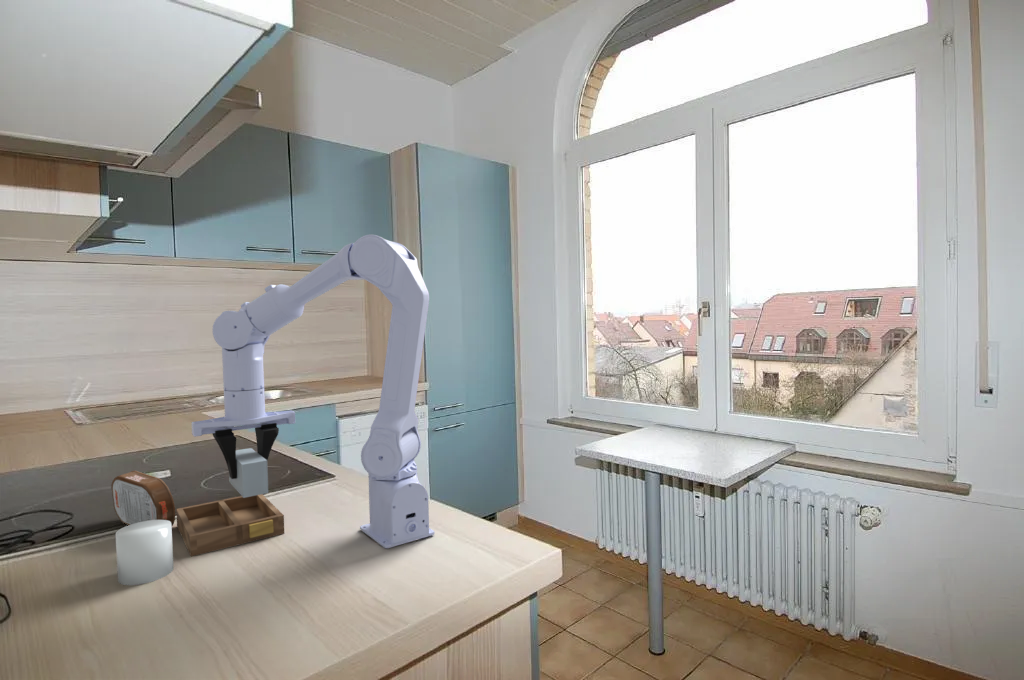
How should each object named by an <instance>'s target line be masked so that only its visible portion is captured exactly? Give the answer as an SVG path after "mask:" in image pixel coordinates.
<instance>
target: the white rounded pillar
mask: <svg viewBox="0 0 1024 680" xmlns="http://www.w3.org/2000/svg"><path fill="white" fill-rule="evenodd" d="M172 527H173V526H172V525H171V522H170V521H168V520H149V521H143V522H138V523H134V524H131V525H128V526H127V525H125V526H124V527H123V526H122V527H121V528H120V529H118V530H117V531H116V532H115V549H116V550H115V551H116V567H117V569H116V571H117V582H118V583H119V584H120V585H123V586H139V585H144V584H149V583H152V582H156V581H158V580H161V579H163V578H165V577H167V576H168V575H170V574H171V573H172V572H173V571H174V567H175V566H174V551H173V548H174V547H173V531H172V529H173V528H172Z"/></svg>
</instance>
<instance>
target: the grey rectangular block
mask: <svg viewBox="0 0 1024 680" xmlns="http://www.w3.org/2000/svg"><path fill="white" fill-rule="evenodd" d="M236 465H237V478H236V479H231V477H230V476H229V475H228V480H229V481H228V482H229V483H230V485H231V486H232V487H233V488H234V489H235V490H236V491H237V493H239V494H240V495H239V496H242V497H243V498H245V497H250V496H255V495H260V494H263V495H265V494H268V493H269V470H268V461H267V460H266V459H265V458H263V457H262V456H261V455H260V454H258V453H257V451H255V450H254V449H253V448H252V447H249V448H243V449H236Z"/></svg>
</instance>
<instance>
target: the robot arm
mask: <svg viewBox="0 0 1024 680" xmlns="http://www.w3.org/2000/svg"><path fill="white" fill-rule="evenodd" d="M351 280H352V281H357V280H358V281H359V280H363V281H367V282H368V283H370V284H372V285H373V286H375V287H376V288H377V289H378V290H379V291H380V292H381V293H382V295H384V297H385V298H387V300H388V301H389V302H390V303H391V305H392V307H391V316H390V322H389V330H388V339H387V345H386V354H385V360H384V369H383V375H382V376H383V377H382V385H381V391H380V400H379V406H378V407H379V409H378V411H377V414H376V416H375V418H374V420H373V422H372V423H371V426H370V431H369V436H368V439H367V440H366V442H365V443H364V444H363V446H362V448H361V451H360V461H361V464H362V466H363V469H364V470H365V472H367V474H368V502H369V503H368V504H369V506H368V509H369V523H365V524H362V525H360V526H359V530H360V531H362V532H363V533H365V534H366V535H367V536H368V537H370V538H371V539H372V540H373V541H375V542H376V543H377V544H378V545H380V546H381V547H382V548H384V549H389V548H393V547H396V546H400V545H403V544H407V543H410V542H414V541H416V540H421V539H425V538H428V537H430V536H433V535H435V530H433V529H432V528H430V515H429V514H430V512H429V509H430V508H429V494H428V491H427V490H426V487H424V485H423V484H421V482H420V481H419V478H418V466H417V463H416V460H415V459H416V458H417V457H418V455H419V454H420V451H421V448H422V440H421V436H420V434H419V430H418V426H419V418H418V416H417V414H416V411H415V410H416V409H415V408H416V403H417V402H416V401H417V393H418V388H419V387H418V386H419V377H420V371H421V366H422V365H421V364H422V356H423V350H424V349H423V348H424V343H425V342H424V341H425V334H426V328H427V321H428V312H429V304H430V293H429V290H428V288H427V286H426V283H425V281H424V278H423V275H422V273H421V271H420V268H419V265H418V259H417V257H416V256H415V255H414V254H413V253H412V252H411V251H410V250H409V249H408V248H407V247H406V246H405V245H404V244H402V243H400V242H397V241H391V240H388V239H386V238H384V237H382V236H379V235H376V234H365V235H363V236H361V237H359V238H357V240H356V241H355V242H351V243H348V244H345V245H343V246H342V248H341V249H340V250H339V251H338V252H337V253H335V254H334V255H333V256H331V257H330V258H328V259H327V260H326V261H324V262H323V263H321V264H320V265H319V266H317V267H316V268H315V269H313V270H312V271H310V272H308V274H306V275H304V276H303V277H302V278H301V279H299V280H297V281H296V282H295V283H293V284H292V285H291V286H289V285H287V284H284V283H283V284H282V283H280V284H277V285H276V284H269V285H267V286H266V287H265V288H264V291H265V293H263V294H261V295H259V296H258V297H256V298H255V299H253V300H252V301H250V302H249V301H246V302H243V303H241V305H240V307H241V308H240V309H239V310H238V311H237V310H224V311H222V312H221V314H219V316H217V318H216V319H215V320H214V322H213V325H212V336H213V339H214V341H215V343H216V344H217V345H218V346H219V347H221V356H222V357H221V359H222V382H223V384H222V385H223V399H224V400H223V402H224V403H223V404H224V405H223V406H224V407H223V408H224V416H221V417H216V418H209V419H203V420H198V421H197V420H196V421H192V422H191V434H192V436H193V437H194V438H195V437H201V436H204V435H210V434H211V435H212V436H213V438H214V440H215V442H216V443H217V445H218V447H219V448H220V451H221V453H222V455H223V458H224V460H225V463H226V466H227V470H228V477H229V476H230V477H231V479H236V478H237V465H236V450H237V437H236V436H235V431H242V430H249V429H254V430H255V431H254V432H255V437H256V440H255V441H256V448H257V451H256V452H257V453H258V454H260V455H261V456H262V457H263V458H265V459H266V460H267V462H268V461H269V456H270V454H271V450H272V447H273V445H274V443H275V441H276V440H277V437H278V436H279V431H280V430H279V427H278V426H279V425H280V426H281V425H295V424H296V412H295V411H294V410H282V411H266V402H265V401H266V398H265V395H266V393H265V373H264V371H265V370H264V355H265V347H266V346H265V345H266V344H267V342H268V341H269V339H270V337H271V335H273V334H274V333H276V332H277V331H279V330H281V329H282V328H284V327H285V326H287V325H289V324H290V323H292V322H294V321H295V320H297V319H299V318H301V317H302V315H303V314H304V310H305V305H306V304H307V303H309V302H311V301H312V300H315V299H316V298H318V297H320V296H322V295H324V294H325V293H327V292H329V291H331V290H333V289H334V288H337V287H338V286H340V285H341V284H343V283H345V282H347V281H351ZM233 431H234V432H233Z"/></svg>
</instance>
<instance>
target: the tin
mask: <svg viewBox="0 0 1024 680" xmlns="http://www.w3.org/2000/svg"><path fill="white" fill-rule="evenodd" d="M110 487H111V495H112V496H111V497H112V501H113V509H114V512H115V514H116V516H117V517H118V519H119V521H120V522H121V523H122V522H123V523H122V524H124V523H125V524H128V525H131V524H134V523H138V522H143V521H149V520H168V521H170V522H171V525H172V527H173V526H174V524H175V519H176V507H175V506H176V505H175V501H174V498H173V495H172V492H171V490H170V488H169V486H168V485H167V484H166V482H165V481H164V480H163V479H162V478H159V477H156V476H154V475H150V474H146V473H144V472H140V471H138V470H131V471H130V472H126V473H122V474H120V475H117V476H116V477H114V479H113V480H112V482H111V486H110ZM125 524H124V525H125Z"/></svg>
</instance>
